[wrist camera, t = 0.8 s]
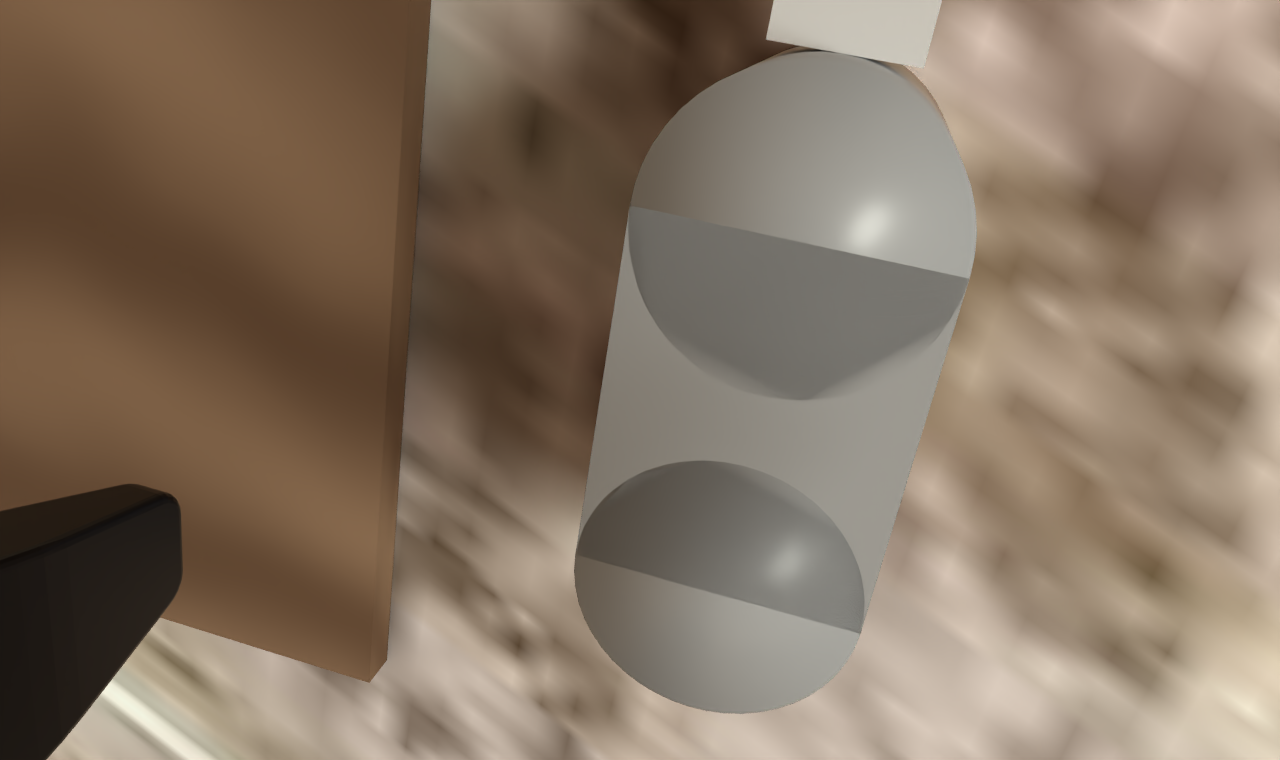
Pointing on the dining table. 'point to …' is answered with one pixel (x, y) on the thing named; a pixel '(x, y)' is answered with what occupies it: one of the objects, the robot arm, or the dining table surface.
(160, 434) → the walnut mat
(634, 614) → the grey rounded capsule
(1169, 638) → the dining table surface
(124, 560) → the robot arm
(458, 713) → the dining table surface
